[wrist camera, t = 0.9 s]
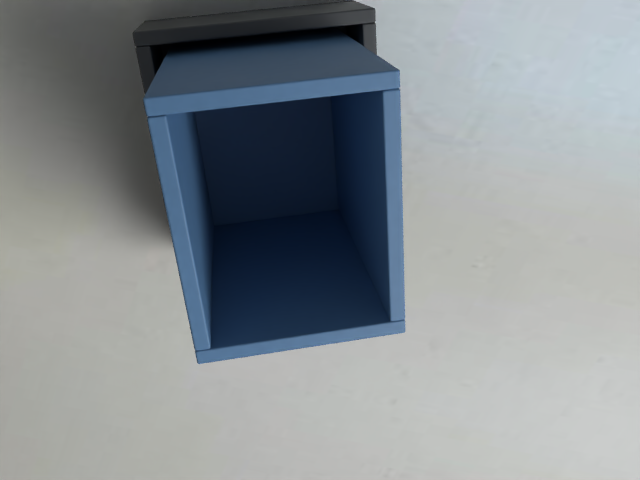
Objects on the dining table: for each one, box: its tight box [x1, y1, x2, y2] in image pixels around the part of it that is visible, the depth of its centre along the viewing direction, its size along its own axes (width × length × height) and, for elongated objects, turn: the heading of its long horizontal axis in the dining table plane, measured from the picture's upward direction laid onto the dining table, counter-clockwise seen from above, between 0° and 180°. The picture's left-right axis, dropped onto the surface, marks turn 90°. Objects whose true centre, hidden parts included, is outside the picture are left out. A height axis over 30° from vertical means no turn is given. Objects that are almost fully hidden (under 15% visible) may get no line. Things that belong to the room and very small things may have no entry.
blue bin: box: [143, 27, 405, 364], centre depth 26 cm, size 10×8×12 cm
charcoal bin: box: [133, 1, 377, 94], centre depth 30 cm, size 12×10×4 cm
